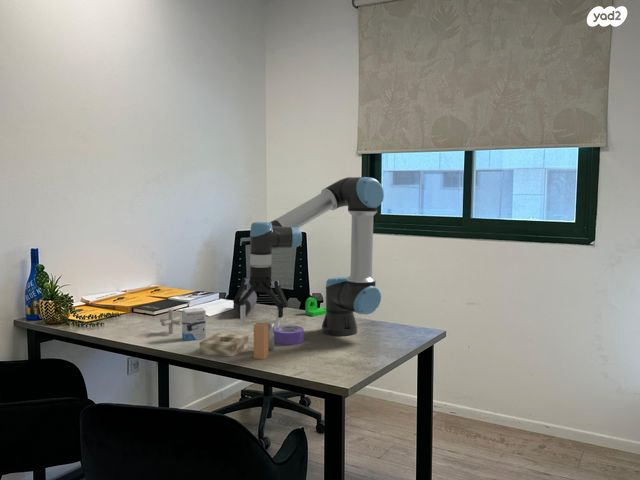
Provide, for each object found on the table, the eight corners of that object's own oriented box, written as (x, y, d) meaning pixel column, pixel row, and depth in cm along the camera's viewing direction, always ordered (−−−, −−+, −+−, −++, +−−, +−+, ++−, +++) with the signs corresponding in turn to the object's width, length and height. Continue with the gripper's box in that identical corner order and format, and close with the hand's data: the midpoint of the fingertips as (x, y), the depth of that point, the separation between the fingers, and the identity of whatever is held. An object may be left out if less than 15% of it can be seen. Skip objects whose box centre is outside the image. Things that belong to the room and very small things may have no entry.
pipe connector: (188, 331, 241) (188, 308, 240) (173, 337, 232) (172, 313, 231) (169, 329, 246) (169, 306, 245) (153, 334, 237) (152, 310, 236)
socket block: (248, 346, 221) (248, 336, 221) (232, 356, 208) (232, 345, 207) (217, 343, 225) (217, 333, 224) (199, 353, 212) (199, 342, 211)
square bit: (268, 355, 209) (268, 323, 208) (264, 359, 205) (264, 326, 204) (258, 354, 210) (258, 322, 209) (253, 358, 206) (253, 325, 205)
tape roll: (292, 347, 221) (292, 334, 220) (267, 342, 227) (267, 329, 227) (309, 340, 231) (309, 327, 230) (285, 335, 237) (285, 323, 237)
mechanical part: (313, 317, 271) (313, 300, 270) (305, 314, 276) (305, 298, 275) (332, 313, 279) (332, 297, 278) (324, 311, 283) (324, 295, 282)
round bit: (275, 348, 218) (276, 322, 217) (271, 351, 215) (272, 325, 214) (266, 347, 220) (266, 321, 218) (261, 350, 216) (262, 324, 215)
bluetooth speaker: (252, 318, 266) (252, 297, 265) (232, 318, 267) (232, 296, 266) (258, 307, 289) (258, 288, 288) (239, 307, 289) (239, 287, 288)
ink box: (185, 341, 227) (184, 311, 226) (182, 338, 232) (181, 309, 230) (206, 338, 231) (206, 309, 230) (202, 335, 235) (202, 307, 234)
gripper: (297, 266, 204) (296, 325, 206) (233, 262, 212) (233, 319, 213) (290, 269, 197) (289, 330, 199) (224, 265, 204) (223, 324, 206)
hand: (260, 324), depth 206 cm, fingers open, 13 cm apart
